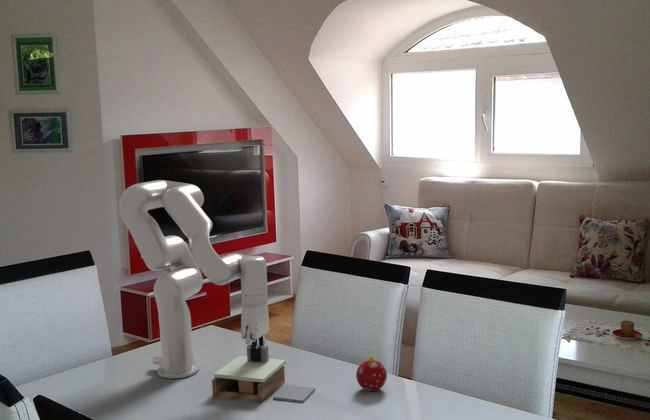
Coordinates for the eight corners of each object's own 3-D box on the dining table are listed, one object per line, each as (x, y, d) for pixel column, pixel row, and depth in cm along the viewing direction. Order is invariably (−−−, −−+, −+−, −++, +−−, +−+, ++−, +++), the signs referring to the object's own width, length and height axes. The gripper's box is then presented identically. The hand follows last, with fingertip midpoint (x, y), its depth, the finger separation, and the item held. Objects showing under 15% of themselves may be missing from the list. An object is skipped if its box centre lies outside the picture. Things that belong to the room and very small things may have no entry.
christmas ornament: (350, 391, 201) (349, 357, 200) (367, 382, 208) (366, 348, 207) (376, 398, 196) (375, 363, 195) (392, 388, 203) (392, 354, 202)
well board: (212, 396, 201) (211, 379, 201) (238, 377, 215) (237, 361, 215) (262, 402, 196) (261, 385, 195) (284, 382, 210) (284, 365, 209)
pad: (273, 399, 198) (273, 396, 198) (286, 386, 207) (286, 384, 206) (303, 402, 195) (303, 400, 195) (315, 390, 203) (315, 388, 203)
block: (239, 392, 204) (238, 376, 204) (246, 386, 209) (245, 371, 208) (253, 393, 203) (252, 378, 202) (260, 387, 207) (259, 372, 206)
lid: (214, 377, 202) (213, 358, 201) (239, 358, 216) (238, 341, 215) (263, 382, 196) (262, 363, 196) (285, 363, 211) (285, 345, 210)
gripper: (255, 291, 217) (258, 349, 219) (230, 305, 202) (234, 367, 205) (277, 292, 214) (280, 351, 217) (254, 306, 199) (257, 370, 202)
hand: (257, 358), depth 211 cm, fingers closed on lid, 2 cm apart
